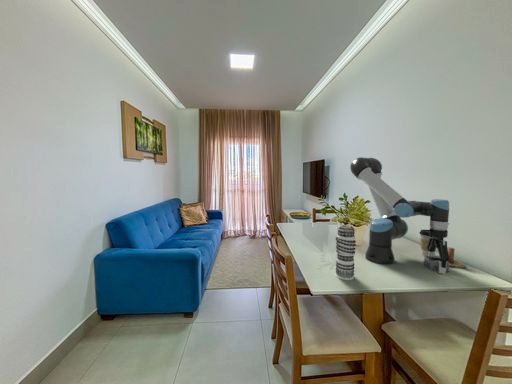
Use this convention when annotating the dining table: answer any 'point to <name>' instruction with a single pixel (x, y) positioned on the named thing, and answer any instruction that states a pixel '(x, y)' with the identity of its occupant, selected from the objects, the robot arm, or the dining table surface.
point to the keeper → (451, 259)
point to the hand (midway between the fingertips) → (436, 268)
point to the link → (434, 263)
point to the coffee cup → (424, 241)
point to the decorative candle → (345, 252)
